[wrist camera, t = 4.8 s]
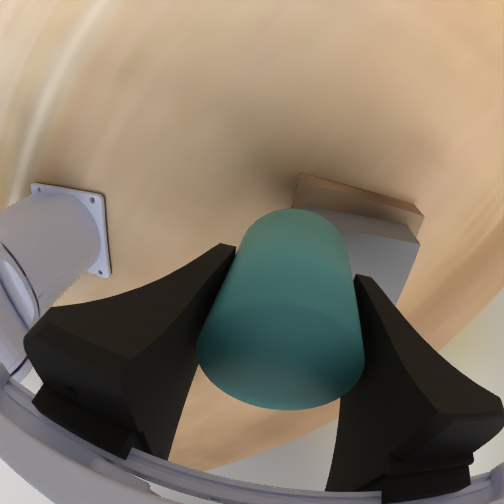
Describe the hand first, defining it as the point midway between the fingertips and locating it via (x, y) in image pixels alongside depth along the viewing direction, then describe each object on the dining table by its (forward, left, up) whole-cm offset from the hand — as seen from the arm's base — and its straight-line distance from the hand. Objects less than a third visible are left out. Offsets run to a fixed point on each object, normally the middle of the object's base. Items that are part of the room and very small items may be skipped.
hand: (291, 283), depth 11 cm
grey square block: (+4, -3, -7) cm, 8 cm away
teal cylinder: (0, 0, -1) cm, 1 cm away
